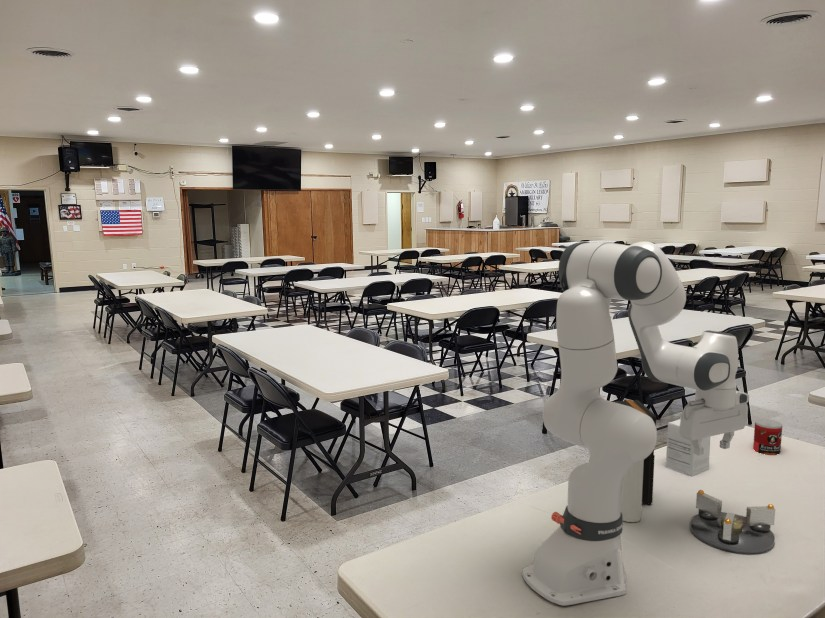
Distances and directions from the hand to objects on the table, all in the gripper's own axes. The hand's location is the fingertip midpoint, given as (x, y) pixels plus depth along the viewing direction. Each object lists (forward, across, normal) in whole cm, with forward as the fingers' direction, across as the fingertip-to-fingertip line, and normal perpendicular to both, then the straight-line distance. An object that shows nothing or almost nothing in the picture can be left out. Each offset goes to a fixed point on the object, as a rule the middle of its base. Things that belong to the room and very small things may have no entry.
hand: (711, 451), depth 153 cm
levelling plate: (+19, 0, -6) cm, 20 cm away
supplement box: (+19, +23, +25) cm, 39 cm away
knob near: (+17, -6, -10) cm, 20 cm away
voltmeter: (+19, -4, +22) cm, 29 cm away
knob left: (+17, 0, 0) cm, 17 cm away
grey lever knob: (+17, +6, -10) cm, 20 cm away
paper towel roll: (+19, -14, +11) cm, 26 cm away
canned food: (+19, +56, +22) cm, 63 cm away
